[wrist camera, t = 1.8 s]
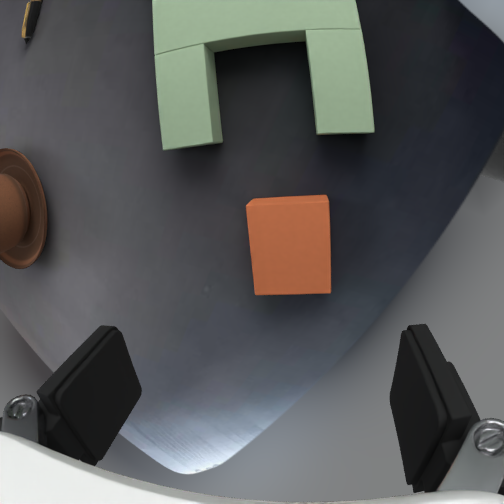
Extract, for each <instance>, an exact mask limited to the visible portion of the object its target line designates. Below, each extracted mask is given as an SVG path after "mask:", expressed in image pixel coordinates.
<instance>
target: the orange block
mask: <svg viewBox="0 0 504 504" xmlns="http://www.w3.org/2000/svg"><path fill="white" fill-rule="evenodd" d="M246 212H247V221H248V231H249V241H250V250H251V260H252V270H253V279H254V289H255V295H287V294H321V293H331V243H330V212H329V200H328V198H327V195H309V196H289V197H272V198H257V199H252V200H251V201H250V202H249V203H248V204H247V205H246Z"/></svg>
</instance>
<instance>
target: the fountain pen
mask: <svg viewBox="0 0 504 504" xmlns="http://www.w3.org/2000/svg"><path fill="white" fill-rule="evenodd" d="M41 2H42V0H31V2H29V3H28V4H27V7H26V12H25V17H24V22H23V27H22V38H24V39H25V42H26V44H27V43H28V41H29V40H30V38H31V36H32V33H33V30H34V27H35V24H36V20H37V17H38V13H39V10H40V6H41ZM29 4H30V6H29ZM28 6H29V10H28ZM27 11H28V14H27ZM26 16H27V19H26ZM25 21H26V25H25ZM24 26H25V28H24Z"/></svg>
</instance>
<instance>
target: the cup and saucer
mask: <svg viewBox="0 0 504 504" xmlns="http://www.w3.org/2000/svg"><path fill="white" fill-rule="evenodd" d="M46 234H47V207H46V200H45V195H44V191H43V188H42V185H41V182H40V179H39V177H38V175H37V173H36V171H35V169H34V167H33V166H32V164H31V163H30V162H29V160H28V159H27V158H26V157H25V156H24V155H23V154H22V153H20V152H18V151H16V150H13V149H8V148H4V149H0V259H1V260H2V261H3V262H4V263H5V264H7V265H8V266H10V267H13V268H16V269H24V268H27V267H29V266H30V265H32V264H33V263H34V262H35V261H36V260H37V259H38V257H39V256H40V254H41V252H42V250H43V247H44V244H45V240H46Z"/></svg>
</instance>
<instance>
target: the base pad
mask: <svg viewBox="0 0 504 504" xmlns="http://www.w3.org/2000/svg"><path fill="white" fill-rule="evenodd" d="M152 1H153V33H154V53H155V70H156V83H157V96H158V107H159V117H160V127H161V137H162V146H163V150H174V149H182V148H188V147H195V146H202V145H210V144H217V143H223V138H222V129H221V119H220V109H219V99H218V89H217V79H216V69H215V58H214V53H213V52H219V51H224V50H230V49H237V48H244V47H251V46H259V45H267V44H277V43H289V42H303V41H306V47H307V54H308V62H309V70H310V78H311V86H312V95H313V105H314V115H315V125H316V134H317V135H328V134H368V133H374V132H375V131H374V119H373V108H372V99H371V90H370V82H369V74H368V67H367V60H366V54H365V47H364V41H363V36H362V30H361V25H360V20H359V15H358V10H357V6H356V1H355V0H152Z"/></svg>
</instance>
